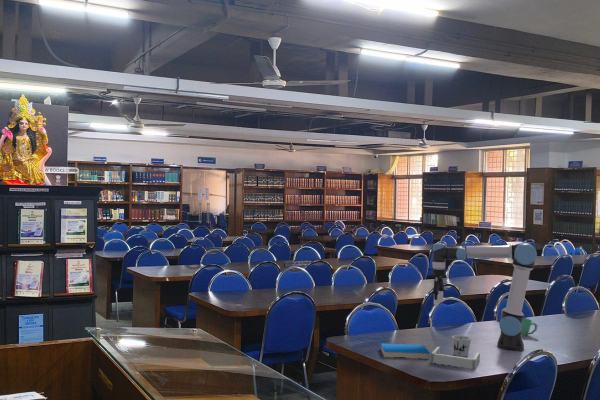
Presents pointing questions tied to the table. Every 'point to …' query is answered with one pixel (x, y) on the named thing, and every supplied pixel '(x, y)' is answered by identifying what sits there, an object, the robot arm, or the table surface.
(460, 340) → the mug
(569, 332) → the table surface
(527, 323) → the mug
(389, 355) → the book
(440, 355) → the cradle
